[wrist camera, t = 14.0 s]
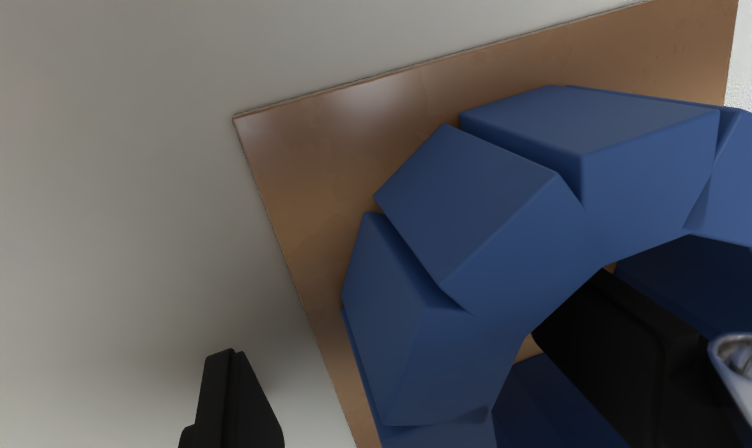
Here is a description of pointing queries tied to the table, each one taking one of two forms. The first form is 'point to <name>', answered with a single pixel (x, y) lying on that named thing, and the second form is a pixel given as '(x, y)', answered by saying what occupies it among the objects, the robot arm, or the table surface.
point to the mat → (442, 105)
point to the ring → (540, 256)
